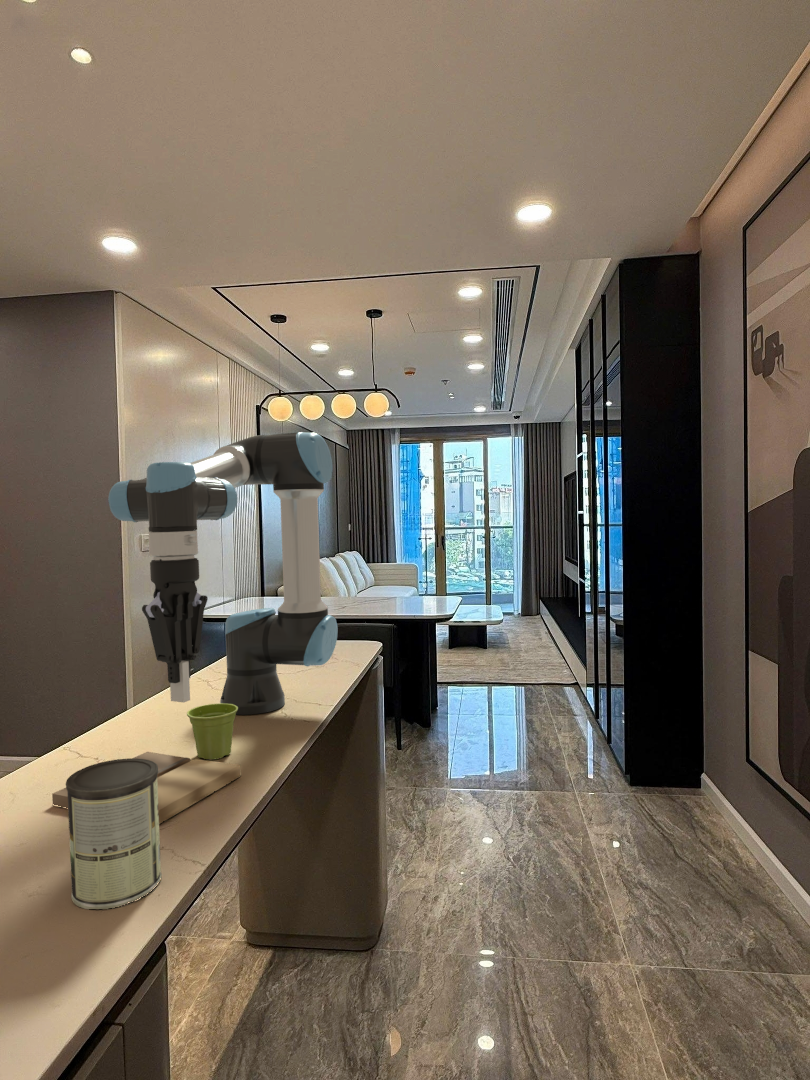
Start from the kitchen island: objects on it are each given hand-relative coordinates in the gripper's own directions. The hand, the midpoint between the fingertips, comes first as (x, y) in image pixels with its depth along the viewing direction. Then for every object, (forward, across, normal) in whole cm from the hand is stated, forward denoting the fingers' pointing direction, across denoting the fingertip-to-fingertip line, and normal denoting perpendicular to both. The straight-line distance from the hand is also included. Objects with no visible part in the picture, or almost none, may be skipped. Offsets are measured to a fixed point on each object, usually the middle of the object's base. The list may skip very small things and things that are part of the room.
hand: (180, 700), depth 108 cm
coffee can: (+15, -26, -12) cm, 32 cm away
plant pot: (+16, +16, +6) cm, 23 cm away
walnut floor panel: (+15, -2, +11) cm, 19 cm away
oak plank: (+15, -2, 0) cm, 15 cm away
